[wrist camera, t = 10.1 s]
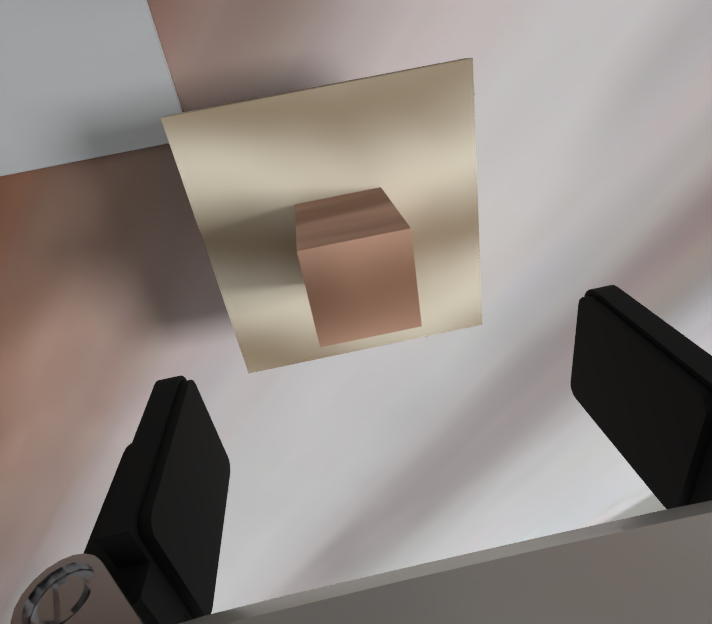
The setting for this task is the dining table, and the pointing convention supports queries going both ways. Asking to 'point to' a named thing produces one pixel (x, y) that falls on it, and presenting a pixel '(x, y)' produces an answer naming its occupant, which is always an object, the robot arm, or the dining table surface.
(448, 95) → the lid
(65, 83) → the mat
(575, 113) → the dining table surface
